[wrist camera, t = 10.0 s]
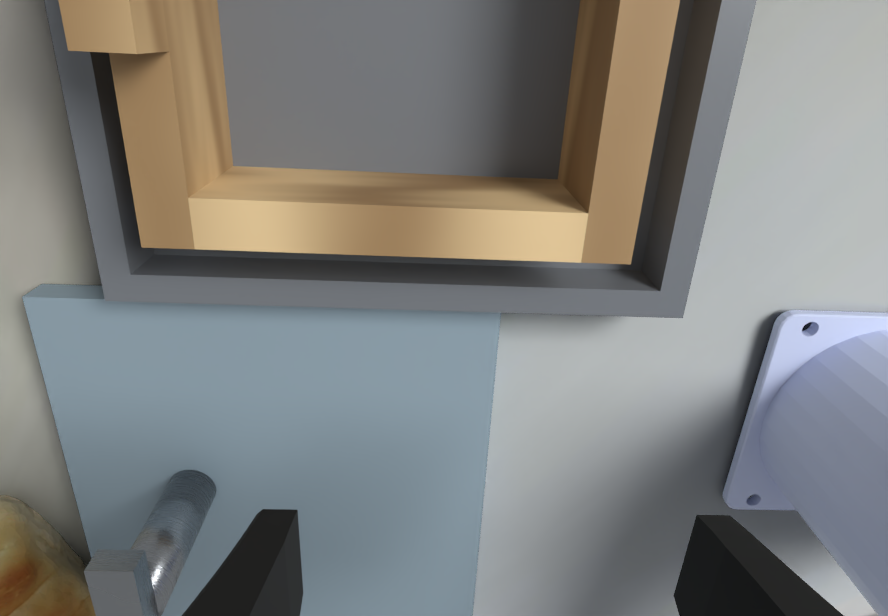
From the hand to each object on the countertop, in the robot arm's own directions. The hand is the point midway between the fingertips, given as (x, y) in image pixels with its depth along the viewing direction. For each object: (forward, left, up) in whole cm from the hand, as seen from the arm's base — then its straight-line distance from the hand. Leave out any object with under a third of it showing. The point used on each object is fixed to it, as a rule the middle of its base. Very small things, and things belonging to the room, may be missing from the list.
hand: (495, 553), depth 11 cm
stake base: (+6, +6, -9) cm, 13 cm away
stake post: (+9, +6, -9) cm, 14 cm away
